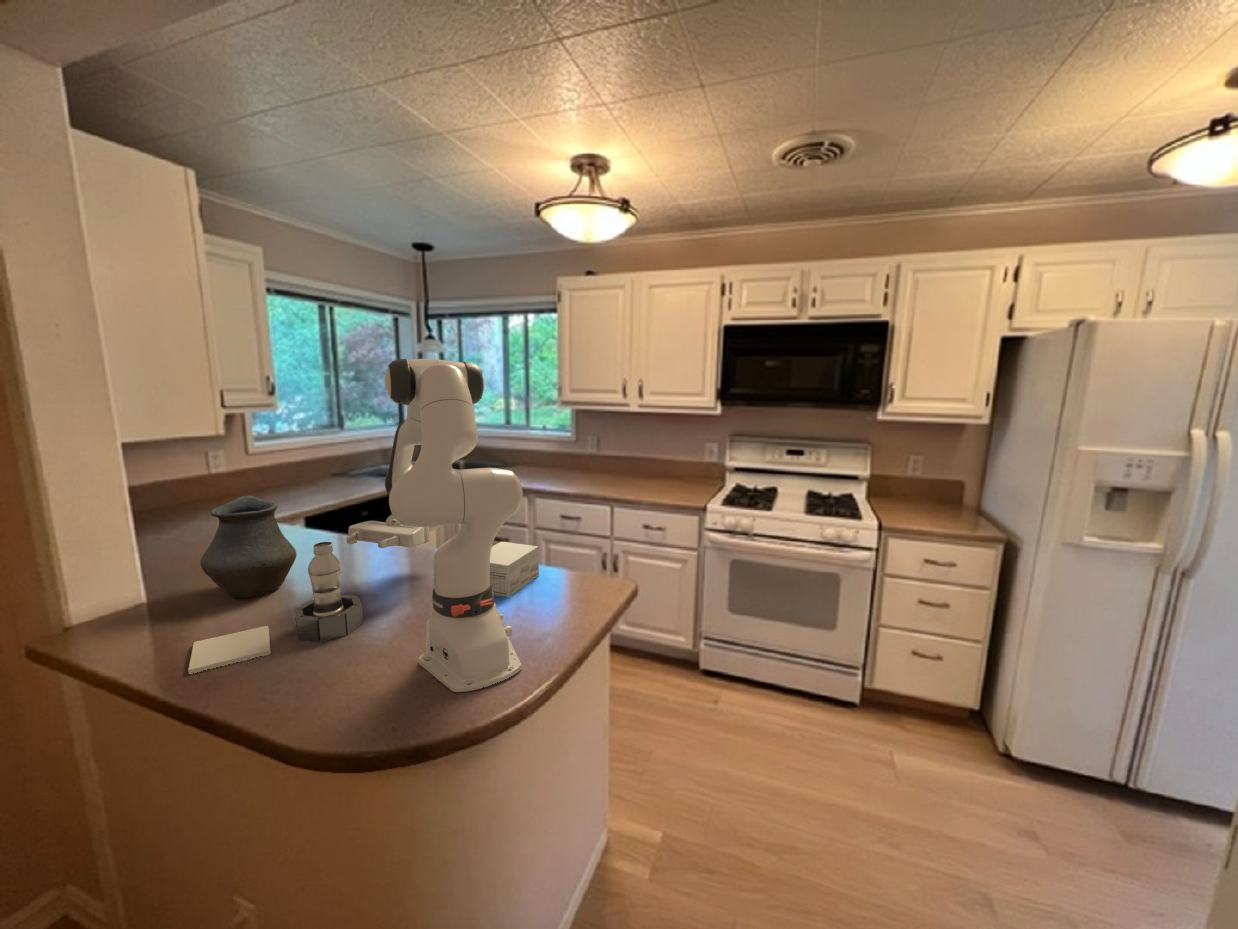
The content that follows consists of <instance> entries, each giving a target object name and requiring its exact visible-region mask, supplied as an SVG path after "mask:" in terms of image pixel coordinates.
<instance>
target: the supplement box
mask: <svg viewBox="0 0 1238 929" xmlns="http://www.w3.org/2000/svg"><path fill="white" fill-rule="evenodd" d="M539 559H540V557H539V546H537V545H530V544H523V543H515V542H510V541H509V542H508V541H500V542H498V543H496V544H494V545H492V548H491V554H490V583H491V584H492V589H493V593H494V596H499V597H503V598H510V597H511V596H513V595H514V594H516V593H517V592H518V591H520V590H521V589H522V588H524V587H525V586H526V585H527V584H529V583H530V582H531V581H533V580H534V578H535V579H536V578H537V577H539V576H540V568H539V567H540V563H539V562H540V561H539Z"/></svg>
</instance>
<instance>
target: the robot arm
mask: <svg viewBox="0 0 1238 929" xmlns="http://www.w3.org/2000/svg"><path fill="white" fill-rule="evenodd" d="M384 386H385V390H386V392H387V393H388V395H389V399H391V400H392V401H393V402H394V403H395V404H399V405H404V406H406V409H407V410H406V418H405V419H404V420H402V421H401V422H400V423H399V424H398V426H397V428H396V430H395V433H394V438H393V444H392V450H391V456H390V460H389V467H388V470H387V473H386V475H385V478H384V488H385V491H386V492H387V493H386V494H388V495H389V497H388V504H389V510H390V512H391V514H390V515H389V516H388V517H386V520H385V521H380V520H379V521H378V520H367V521H363V522H358V523H356V524H352V525H350V526H349V527H348V530H347V531H348V536H347V537H346V543H347V544H350V545H354V544H356V543H357V544H358V541H359V542H365V543H366V542H367V543H373V544H377V547H378V548H379V549H385V548H387V547H403V548H415V547H418V546H420V545H422V544H427V543H429V542H430V533H432V532H434V531H436V530H437V529H438V528H440V527H443V526H451V525H460V524H461V528H460V530H459V531H458V532H457V533H456V534H455V535H454V536H452V537H451V538H449V539H448V540H446V541H444V542H443V543H442V544H440V546H439V547H438V548H437V549H436V551H435V553H434V554H433V558H432V559H433V560H432V564H433V566H432V567H433V584H434V585H433V586H434V588H433V589H432V595H431V602H432V608H433V611H432V613H431V615H430V616H429V617H428V619H427V621H426V623H425V624H426V626H425V628H426V629H425V652H423V653H422V654H420V656H419V657H418V664H419V665H420V666H421V667H422V668H423V669H425V670H426V671H427V672H428V673H430V674H431V675H432V676H433V677H435V679H437V680H438V681H440V682H441V683H442V684H443V685H444V686H445V687H447V688H448V689H449V690H450V691H451V692H454V693H462V692H471V691H476V690H480V689H483V687H484V688H486V687H490V686H493V685H495V683H496V684H498V683H501V682H503V681H506V680H508V679H509V677H510V678H512V677H513V676H514V675H516V674H518V673H519V672H520V671H521V670H522V663H521V661H520V659H519V655H518V654H517V652H516V650H515V648H514V646H513V644H512V642H511V640H510V638H511V637H512V636H513V629H512V626H511V625H505V626H504V624H503V621H504V614H503V613H499V611H498V609H497V608H498V607H497V604H496V602H495V597H494V596H495V595H494V593H493V589H492V584H491V583H490V554H491V548H492V546H493V543H494V540H495V539H496V536H497V534H498V532H499V531H500V529H502V526H503V525H504V524H505V523H506V521H508V519H509V518H511V517H512V516H513V515H515V513H516V512H517V511H518V510H519V508H520V506H521V504H522V500H523V494H524V492H523V487H522V484H521V481H520V479H519V477H518V476H517V475H516V474H515V473H514V472H513V471H512V470H510V469H504V468H496V467H479V468H478V467H477V468H467V469H466V468H465V469H464V468H462V469H456V468H453V464H454V463H455V462H456V461H458V460H460V459H463V458H464V457H466V456H467V455H469V454H470V453H471V452H473V450H474V449H475V448H476V447H477V444H478V441H479V435H478V427H477V422H476V416H475V410H474V405H475V404H477V403H479V401H481V399H482V397H483V394H484V391H485V378H484V375H483V372H482V369H481V368H480V367H479V366H478V365H477V364H476V363H472V362H469V361H465V360H463V361H462V362H461V361H456V360H448V359H447V360H446V359H436V358H416V359H415V358H414V359H407V358H401V359H395V360H392V361H391V362H390V363H389V364H388V366H387V369H386V370H385V373H384ZM415 446H420V452H419V455H418V457H417V459H416V461H415V463H414V464H413V463H412V460H413V454H414V450H415ZM511 676H512V677H511ZM505 679H506V680H505ZM500 681H501V682H500ZM497 682H498V683H497ZM492 684H493V685H492Z"/></svg>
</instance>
